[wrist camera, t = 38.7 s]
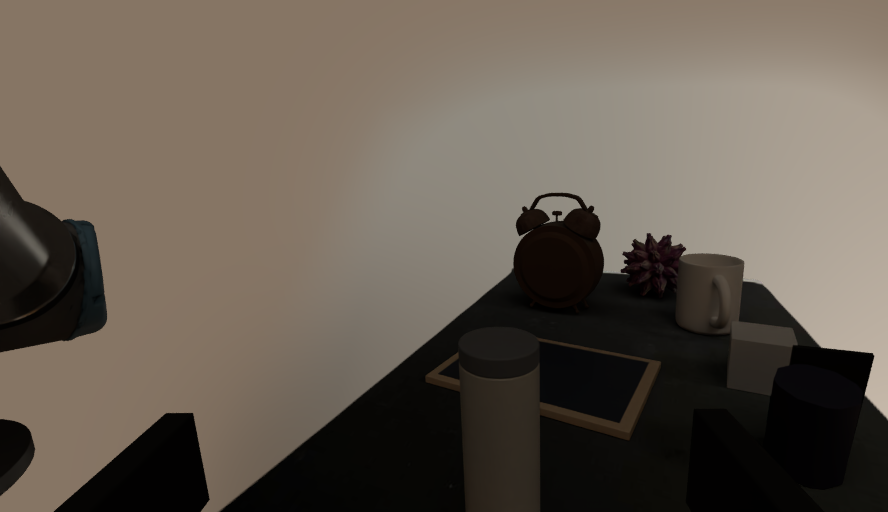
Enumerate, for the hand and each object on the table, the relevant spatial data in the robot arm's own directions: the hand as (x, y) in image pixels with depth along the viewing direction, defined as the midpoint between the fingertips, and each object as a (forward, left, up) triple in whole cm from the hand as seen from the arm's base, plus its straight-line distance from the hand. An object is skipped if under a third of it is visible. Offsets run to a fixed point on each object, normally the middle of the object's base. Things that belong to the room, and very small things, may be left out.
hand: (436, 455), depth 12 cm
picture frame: (-14, +42, -20) cm, 48 cm away
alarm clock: (-21, +66, -20) cm, 72 cm away
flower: (-8, +80, -20) cm, 82 cm away
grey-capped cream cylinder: (-4, +10, -20) cm, 22 cm away
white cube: (+8, +52, -20) cm, 56 cm away
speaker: (+12, +37, -20) cm, 44 cm away
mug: (+2, +66, -20) cm, 69 cm away
